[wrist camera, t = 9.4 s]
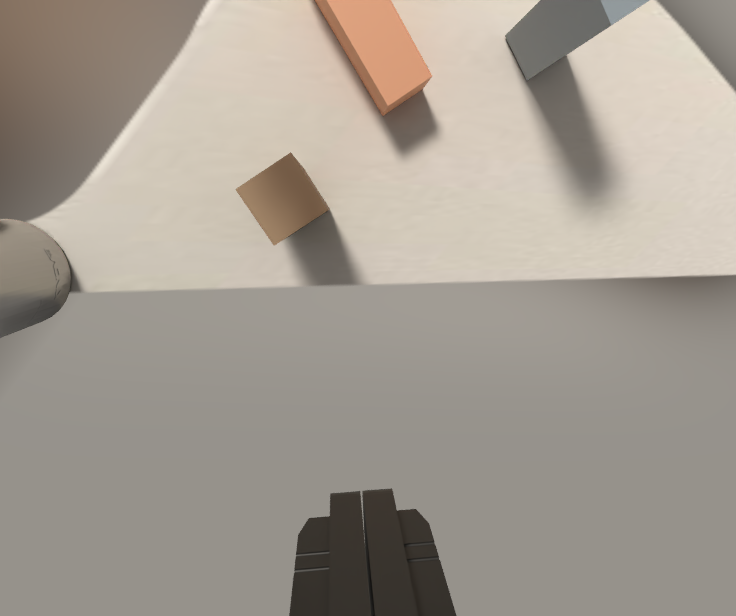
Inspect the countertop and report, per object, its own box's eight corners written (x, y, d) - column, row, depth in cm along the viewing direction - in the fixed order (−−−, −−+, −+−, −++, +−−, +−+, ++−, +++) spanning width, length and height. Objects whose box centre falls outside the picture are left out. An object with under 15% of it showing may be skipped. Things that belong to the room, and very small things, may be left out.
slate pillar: (526, 80, 38) (611, 25, 27) (504, 35, 37) (582, -42, 26) (567, 54, 38) (670, -14, 26) (546, 8, 37) (644, -83, 25)
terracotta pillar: (387, 105, 34) (298, -49, 32) (382, 116, 38) (302, -22, 36) (432, 76, 34) (345, -83, 31) (422, 89, 38) (344, -51, 35)
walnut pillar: (291, 234, 40) (273, 245, 28) (265, 194, 39) (235, 189, 27) (329, 209, 39) (327, 210, 28) (304, 168, 38) (290, 152, 27)
